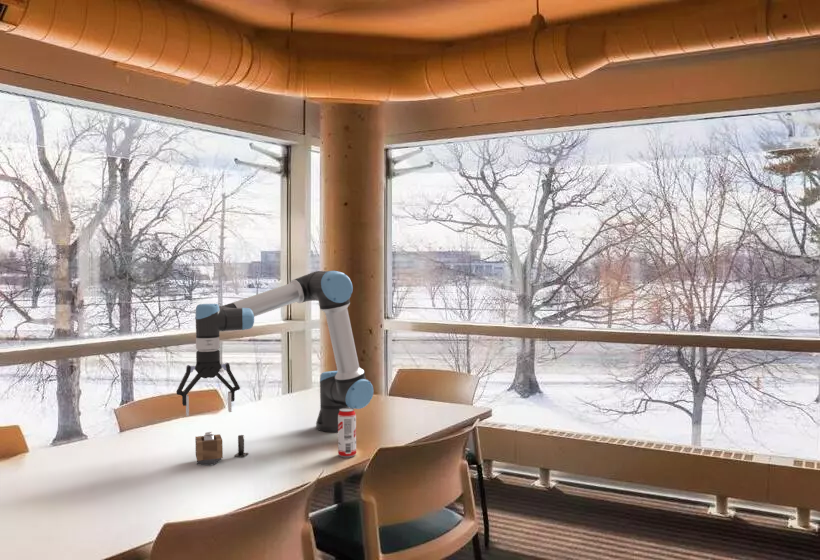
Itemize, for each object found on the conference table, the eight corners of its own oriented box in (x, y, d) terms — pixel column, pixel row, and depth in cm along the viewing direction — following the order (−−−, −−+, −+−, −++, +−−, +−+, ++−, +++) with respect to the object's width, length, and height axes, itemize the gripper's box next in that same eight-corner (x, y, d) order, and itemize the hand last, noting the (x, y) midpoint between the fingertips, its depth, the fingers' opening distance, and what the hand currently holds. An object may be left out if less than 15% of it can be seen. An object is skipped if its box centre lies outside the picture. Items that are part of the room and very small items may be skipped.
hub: (204, 459, 222) (204, 430, 222) (221, 459, 221) (221, 430, 221) (196, 464, 216) (196, 435, 216) (214, 465, 215) (213, 435, 215)
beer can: (339, 458, 222) (339, 412, 221) (336, 453, 228) (336, 408, 227) (357, 457, 223) (357, 410, 223) (354, 452, 229) (354, 407, 229)
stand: (238, 454, 228) (238, 434, 228) (248, 454, 227) (248, 434, 227) (234, 457, 224) (234, 436, 224) (244, 457, 224) (244, 437, 224)
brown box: (195, 454, 221) (195, 436, 221) (220, 451, 224) (219, 434, 224) (197, 460, 214) (197, 442, 213) (222, 458, 217) (222, 440, 216)
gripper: (168, 353, 210) (169, 419, 210) (247, 349, 219) (248, 411, 220) (167, 350, 217) (168, 414, 217) (244, 346, 226) (245, 407, 227)
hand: (208, 413), depth 219 cm, fingers open, 13 cm apart
